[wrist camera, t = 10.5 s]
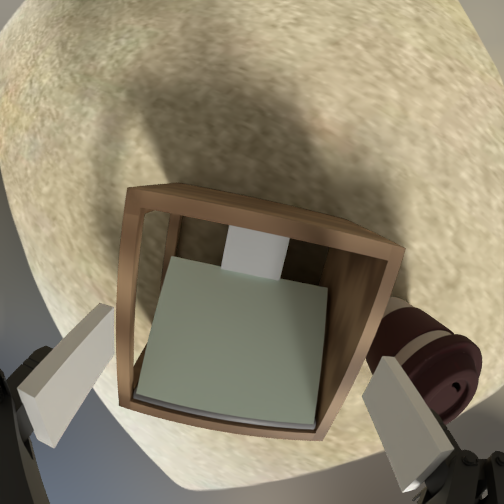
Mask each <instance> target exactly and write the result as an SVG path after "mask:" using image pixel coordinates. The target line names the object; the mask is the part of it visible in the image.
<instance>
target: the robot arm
mask: <svg viewBox="0 0 504 504" xmlns="http://www.w3.org/2000/svg"><path fill="white" fill-rule="evenodd" d="M113 355H114V307H112V306H108V305H105V304H102V303H99V304H98V305H97V306H96V307H95V308H94V309H93V310H92V311H91V312H90V313H89V314H88V315H87V316H86V317H85V318H84V319H83V320H82V321H81V322H80V323H78V324H77V325H76V326H75V327H74V328H73V329H72V330H71V331H70V332H69V333H68V334H67V335H66V336H65V337H64V338H63V339H62V340H61V342H60V343H59V344H58V345H57V346H56V347H55V348H54V349H53V348H50V347H48V346H44V347H42V348H39V349H37V350H36V351H34V352H33V354H31V355H30V356H29V358H28V359H26V360H25V361H24V362H23V365H22V364H21V365H20V366H19V367H18V368H17V369H16V370H15V371H14V372H13V374H12V375H11V376H10V377H9V378H8V379H7V380H6V379H5V376H4V373H3V371H2V370H1V369H0V504H50V502H49V500H48V497H47V494H46V491H45V488H44V485H43V482H42V479H41V476H40V473H39V469H38V466H37V462H36V458H35V455H34V451H33V447H32V442H31V440H30V437H29V436H30V435H31V433H32V432H33V431H34V433H35V435H36V437H37V439H38V440H39V441H41V442H43V443H45V444H47V445H49V446H51V447H53V448H55V446H56V444H57V443H58V441H59V440H60V438H61V436H62V435H63V433H64V431H65V430H66V428H67V426H68V425H69V423H70V421H71V420H72V418H73V417H74V415H75V413H76V412H77V410H78V409H79V407H80V406H81V404H82V402H83V401H84V399H85V398H86V396H87V395H88V393H89V392H90V390H91V388H92V387H93V385H94V384H95V382H96V381H97V379H98V378H99V376H100V375H101V373H102V372H103V370H104V369H105V367H106V366H107V364H108V363H109V361H110V360H111V358H112V357H113ZM362 398H363V400H364V402H365V405H366V407H367V409H368V412H369V414H370V416H371V418H372V421H373V423H374V425H375V428H376V430H377V432H378V435H379V437H380V439H381V442H382V444H383V447H384V449H385V451H386V454H387V456H388V459H389V461H390V464H391V466H392V469H393V471H394V473H395V476H396V479H397V481H398V484H399V486H400V489H401V491H402V492H406V491H410V490H414V489H417V488H418V487H419V486H420V485H421V484H422V483H423V482H424V481H425V484H426V487H425V488H424V489H423V490H422V491H421V492H419V493H418V494H417V495H416V496H415V497H414V498H413V500H412V501H415V500H416V499H417V498H418V497H420V498H419V500H418V501H417V504H504V453H503V452H500V451H495V452H494V453H492V454H491V456H490V457H489V458H488V459H478V457H477V456H476V455H475V454H474V453H472V452H471V451H469V450H461V449H460V448H459V446H458V444H457V443H456V441H455V439H454V438H453V436H452V435H451V433H450V431H449V430H447V427H446V425H445V424H443V423H444V422H443V421H442V419H441V417H440V416H439V415H438V414H437V413H436V412H435V411H434V410H433V409H432V408H429V407H428V406H427V404H426V403H425V401H424V400H423V398H422V397H421V395H420V394H419V392H418V391H417V389H416V388H415V386H414V385H413V383H412V382H411V380H410V379H409V377H408V376H407V374H406V373H405V371H404V370H403V369H402V367H401V366H400V364H399V363H398V361H397V360H396V358H395V357H389V356H382V358H381V360H380V362H379V364H378V366H377V368H376V370H375V372H374V374H373V376H372V378H371V380H370V382H369V384H368V386H367V388H366V390H365V391H364V393H363V395H362ZM486 491H488V495H487V496H486V497H485V498H484V499H482V494H483V493H484V492H486Z"/></svg>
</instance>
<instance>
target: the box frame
mask: <svg viewBox="0 0 504 504" xmlns="http://www.w3.org/2000/svg"><path fill="white" fill-rule="evenodd" d="M154 210H156V211H162V212H167V213H171V214H170V220H169V226H168V233H167V239H166V246H165V254H164V261H163V269H162V277H161V286H160V293H161V290H162V286H163V283H164V279H165V276H166V272H167V269H168V266H169V262H170V259H171V256H174V257H176V253H177V246H178V240H179V234H180V227H181V221H182V216H187V217H192V218H197V219H202V220H207V221H212V222H217V223H222V224H226V225H231V226H236V227H241V228H246V229H250V230H255V231H260V232H264V233H269V234H274V235H278V236H283V237H288V238H292V239H297V240H301V241H306V242H310V243H315V244H319V245H323V246H328V247H329V251H328V255H327V258H326V262H325V265H324V269H323V272H322V276H321V279H320V283H319V286H321V287H326V288H328V293H327V308H326V321H325V333H324V344H323V354H322V363H321V372H320V381H319V389H318V396H317V404H316V411H315V419H316V426H315V428H314V429H313V430H312V429H295V428H283V427H272V426H263V425H255V424H248V423H241V422H234V421H228V420H222V419H217V418H211V417H206V416H201V415H196V414H192V413H187V412H183V411H178V410H174V409H170V408H166V407H162V406H159V405H155V404H151V403H148V402H144V401H141V400H137V399H134V398H133V395H134V390H135V388H136V387H138V382H139V378H140V373H141V369H142V364H143V360H144V356H145V351H146V347H147V344H146V346H145V348H144V349H143V351H142V353H141V354H140V356H139V358H138V360H137V361H136V363H135V365H134V367H133V363H134V322H135V303H136V288H137V276H138V265H139V256H140V247H141V238H142V230H143V223H144V216H145V213H148V212H151V211H154ZM405 249H406V248H404V247H402V246H400V245H398V244H396V243H394V242H392V241H390V240H388V239H386V238H384V237H382V236H380V235H378V234H376V233H374V232H372V231H370V230H368V229H366V228H364V227H361V226H359V225H357V224H355V223H353V222H351V221H349V220H347V219H343V218H339V217H335V216H331V215H327V214H323V213H319V212H315V211H311V210H307V209H303V208H298V207H294V206H290V205H285V204H281V203H277V202H272V201H268V200H263V199H259V198H254V197H249V196H244V195H240V194H235V193H230V192H225V191H220V190H215V189H210V188H204V187H199V186H194V185H188V184H183V183H169V184H158V185H147V186H137V187H128V188H127V193H126V200H125V207H124V215H123V223H122V232H121V242H120V252H119V265H118V280H117V303H116V359H117V381H118V396H119V406H121V407H124V408H127V409H130V410H134V411H137V412H140V413H144V414H147V415H151V416H154V417H158V418H162V419H166V420H169V421H174V422H178V423H182V424H186V425H191V426H196V427H201V428H206V429H211V430H216V431H222V432H228V433H235V434H241V435H249V436H257V437H266V438H276V439H289V440H307V441H322V440H323V439H324V437H325V435H326V434H327V432H328V430H329V428H330V427H331V425H332V423H333V421H334V420H335V418H336V416H337V414H338V412H339V410H340V409H341V407H342V405H343V403H344V401H345V399H346V397H347V395H348V393H349V391H350V389H351V387H352V385H353V383H354V381H355V379H356V377H357V375H358V373H359V371H360V368H361V366H362V364H363V362H364V360H365V358H366V355H367V353H368V351H369V348H370V346H371V344H372V341H373V339H374V337H375V334H376V332H377V329H378V327H379V324H380V322H381V319H382V317H383V314H384V312H385V309H386V306H387V303H388V301H389V298H390V295H391V292H392V289H393V287H394V284H395V281H396V278H397V275H398V272H399V268H400V265H401V262H402V259H403V256H404V252H405ZM159 297H160V295H159ZM147 343H148V342H147Z"/></svg>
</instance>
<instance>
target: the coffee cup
mask: <svg viewBox="0 0 504 504" xmlns="http://www.w3.org/2000/svg"><path fill="white" fill-rule="evenodd" d="M382 356H389V357H395V358H396V360H397V361H398V363H399V364H400V366H401V367H402V369H403V370H404V371H405V373H406V374H407V376H408V377H409V379H410V380H411V382H412V383H413V385H414V386H415V388H416V389H417V391H418V392H419V394H420V395H421V397H422V398H423V400H424V401H425V403H426V404H427V406H428V407H429V408H432V409H433V410H434V411H435V412H436V413H437V414H438V415H439V416H440V417H441V419H442V421H443V422H444V423H443V424H445V425H446V424H448V423H449V422H451V421H452V420H454V419H455V418H456V417H457V416H458V415H459V414H460V413H461V412H462V411H463V410H464V409H465V408H466V407H467V406H468V404H469V403H470V401H471V400H472V398H473V396H474V394H475V392H476V390H477V386H478V380H479V379H478V378H479V376H480V372H481V368H482V355H481V352H480V349H479V348H478V347H477V345H475V344H474V343H473V342H472V341H471V340H470V339H468V338H467V337H465V336H463V335H458V334H454V333H453V332H452V331H451V330H449V329H448V328H446V327H445V326H444V325H442V324H441V323H439V322H438V321H437V320H435V319H434V318H432V317H431V316H430V315H428V314H427V313H425V312H424V311H422V310H421V309H418V308H415V307H413V306H412V305H410V304H409V303H408V302H406V301H405V300H403V299H401V298H397V297H390V298H389V301H388V303H387V306H386V309H385V312H384V314H383V317H382V319H381V322H380V324H379V327H378V329H377V332H376V334H375V337H374V339H373V341H372V344H371V346H370V348H369V351H368V353H367V355H366V361H367V363H368V365H369V368H370V370H371V372H372V375H373V374H374V372H375V370H376V368H377V366H378V364H379V362H380V360H381V358H382Z"/></svg>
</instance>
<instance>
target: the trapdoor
mask: <svg viewBox="0 0 504 504" xmlns="http://www.w3.org/2000/svg"><path fill="white" fill-rule="evenodd" d="M327 293H328V288H326V287H321V286H315V285H310V284H305V283H300V282H295V281H290V280H285V279H280V280H279V281H278V280H273V279H268V278H263V277H258V276H253V275H248V274H243V273H239V272H234V271H229V270H224V269H221V266H216V265H212V264H207V263H202V262H197V261H193V260H188V259H184V258H179V257H174V256H171V259H170V262H169V266H168V269H167V272H166V276H165V279H164V283H163V286H162V290H161V293H160V297H159V300H158V304H157V308H156V312H155V315H154V319H153V323H152V327H151V331H150V335H149V339H148V343H147V347H146V351H145V356H144V360H143V364H142V369H141V373H140V378H139V382H138V387H136V388H135V390H134V395H133V398H134V399H137V400H141V401H144V402H148V403H151V404H155V405H159V406H162V407H166V408H170V409H174V410H178V411H183V412H187V413H192V414H196V415H201V416H206V417H211V418H217V419H222V420H228V421H234V422H241V423H248V424H255V425H263V426H272V427H283V428H295V429H312V430H313V429H314V428H315V426H316V419H315V411H316V404H317V396H318V389H319V381H320V372H321V363H322V354H323V344H324V333H325V321H326V308H327Z"/></svg>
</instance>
